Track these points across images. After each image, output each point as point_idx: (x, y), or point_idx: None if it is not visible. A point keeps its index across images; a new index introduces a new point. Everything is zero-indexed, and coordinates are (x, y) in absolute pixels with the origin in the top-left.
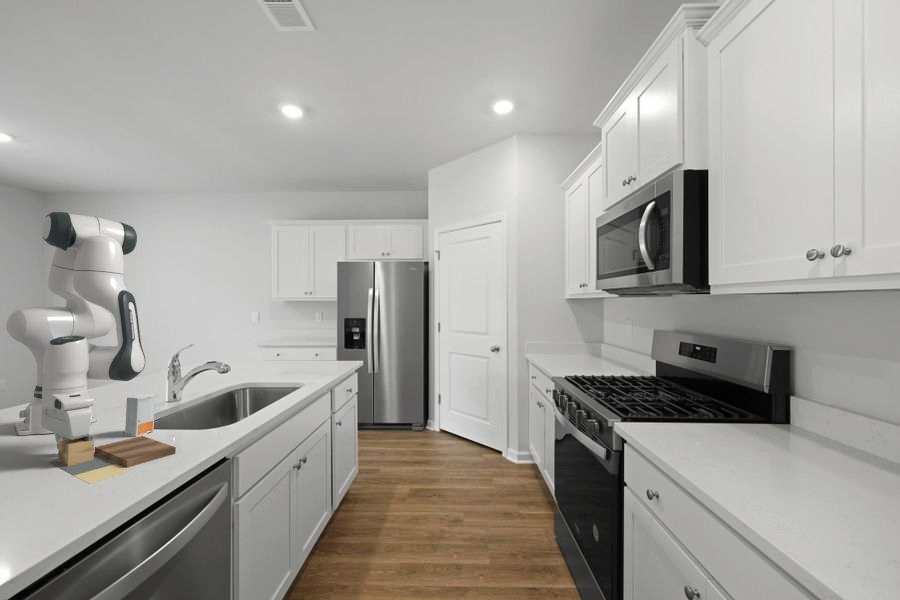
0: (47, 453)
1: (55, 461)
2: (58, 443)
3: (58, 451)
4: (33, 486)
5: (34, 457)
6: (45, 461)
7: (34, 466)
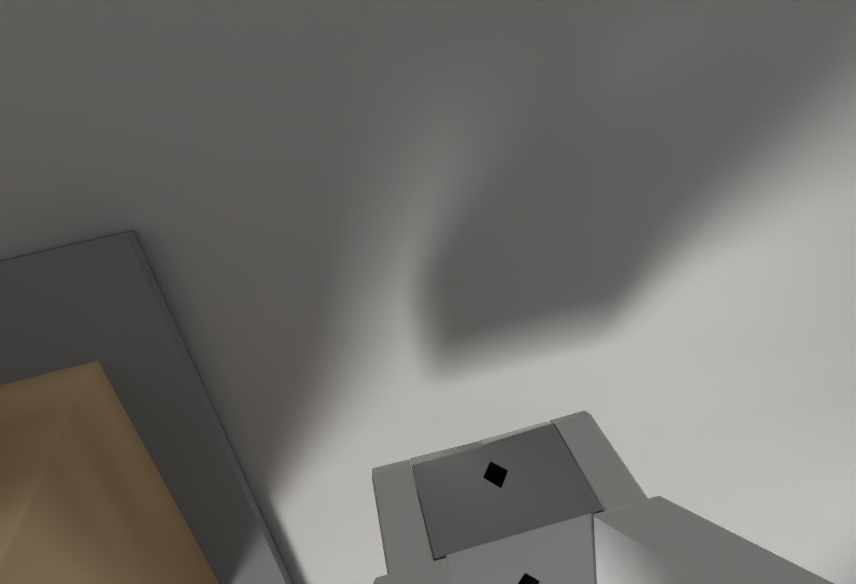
0: (793, 235)
1: (107, 330)
2: (573, 519)
3: (18, 508)
4: None
5: (755, 67)
6: (339, 196)
7: (104, 15)
